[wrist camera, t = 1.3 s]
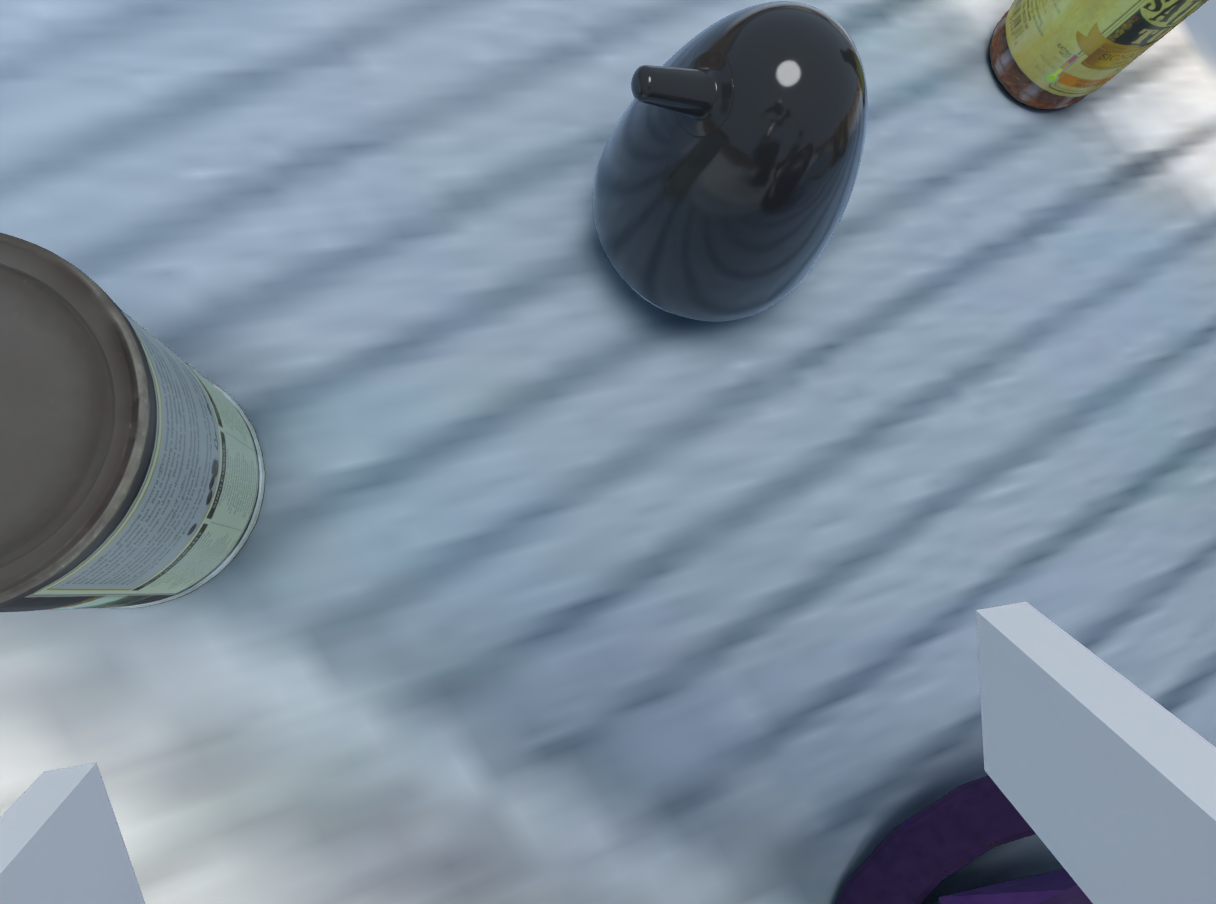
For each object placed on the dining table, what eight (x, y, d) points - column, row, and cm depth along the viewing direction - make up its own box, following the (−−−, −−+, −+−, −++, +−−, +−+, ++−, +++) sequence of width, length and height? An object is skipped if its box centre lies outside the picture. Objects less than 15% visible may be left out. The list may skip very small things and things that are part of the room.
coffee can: (54, 654, 34) (-227, 694, 21) (-37, 418, 35) (-364, 305, 21) (306, 547, 36) (206, 518, 23) (215, 327, 37) (65, 170, 24)
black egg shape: (558, 154, 41) (607, -96, 26) (764, 132, 43) (920, -113, 28) (599, 361, 40) (676, 222, 25) (810, 329, 42) (999, 182, 27)
